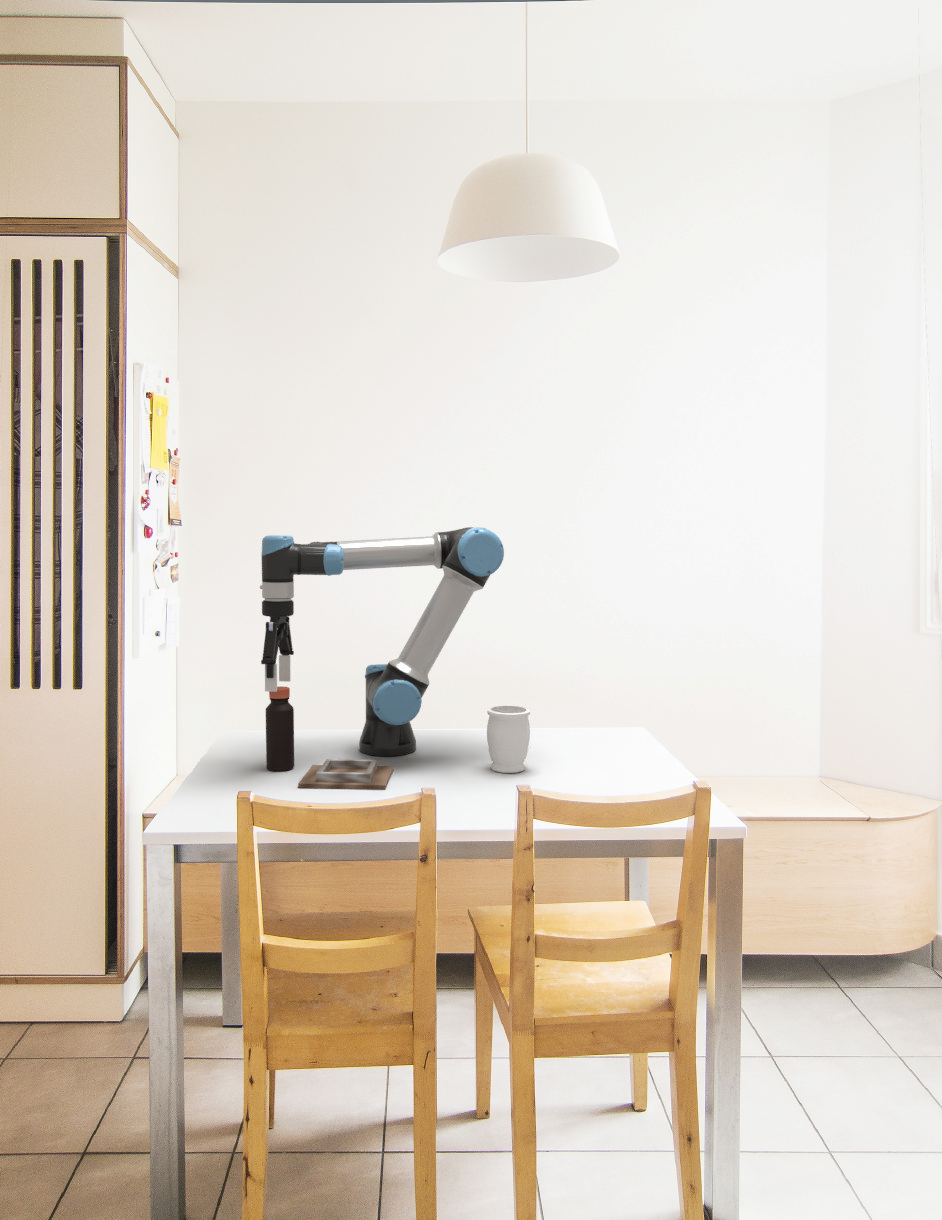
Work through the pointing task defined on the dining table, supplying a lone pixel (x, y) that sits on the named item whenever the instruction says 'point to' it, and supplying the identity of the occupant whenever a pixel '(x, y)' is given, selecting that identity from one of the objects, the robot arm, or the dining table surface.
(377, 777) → the tray
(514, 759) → the jar
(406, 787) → the dining table surface
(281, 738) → the vinegar
